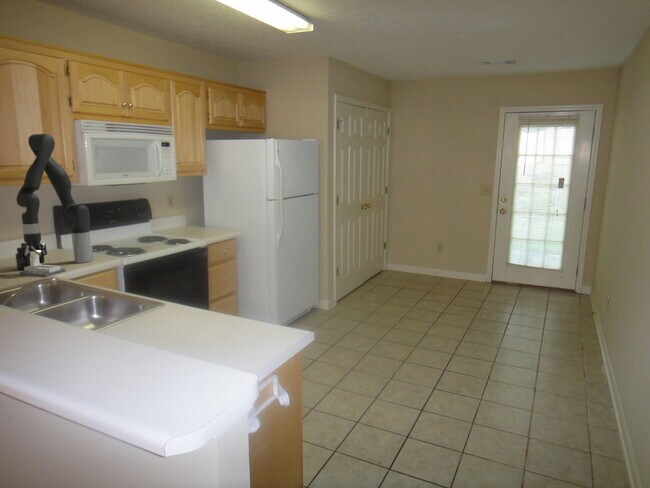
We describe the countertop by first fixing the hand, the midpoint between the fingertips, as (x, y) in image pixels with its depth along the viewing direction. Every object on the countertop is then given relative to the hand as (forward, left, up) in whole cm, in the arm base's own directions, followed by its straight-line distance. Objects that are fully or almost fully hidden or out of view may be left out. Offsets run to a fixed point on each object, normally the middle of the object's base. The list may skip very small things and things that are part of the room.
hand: (35, 262), depth 234 cm
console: (0, +4, -5) cm, 7 cm away
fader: (0, 0, -4) cm, 4 cm away
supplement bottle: (-5, -14, -6) cm, 16 cm away
